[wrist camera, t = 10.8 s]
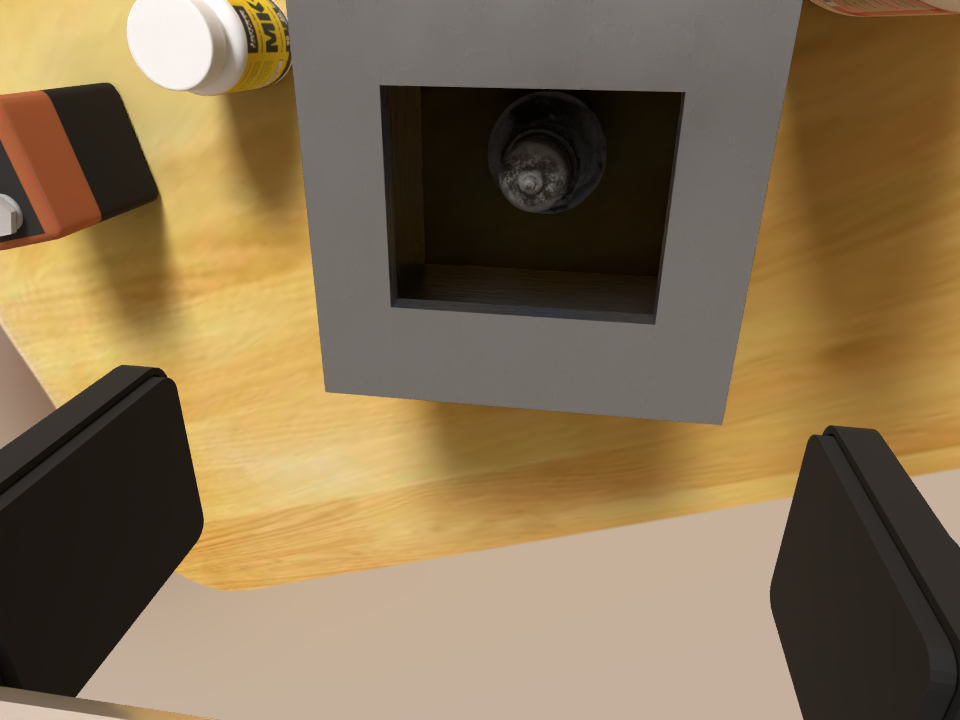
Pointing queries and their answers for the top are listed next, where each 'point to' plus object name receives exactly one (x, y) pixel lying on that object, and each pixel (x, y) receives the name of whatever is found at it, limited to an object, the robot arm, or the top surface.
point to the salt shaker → (547, 152)
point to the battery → (66, 163)
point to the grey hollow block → (527, 292)
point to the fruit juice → (890, 7)
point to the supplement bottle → (210, 44)
